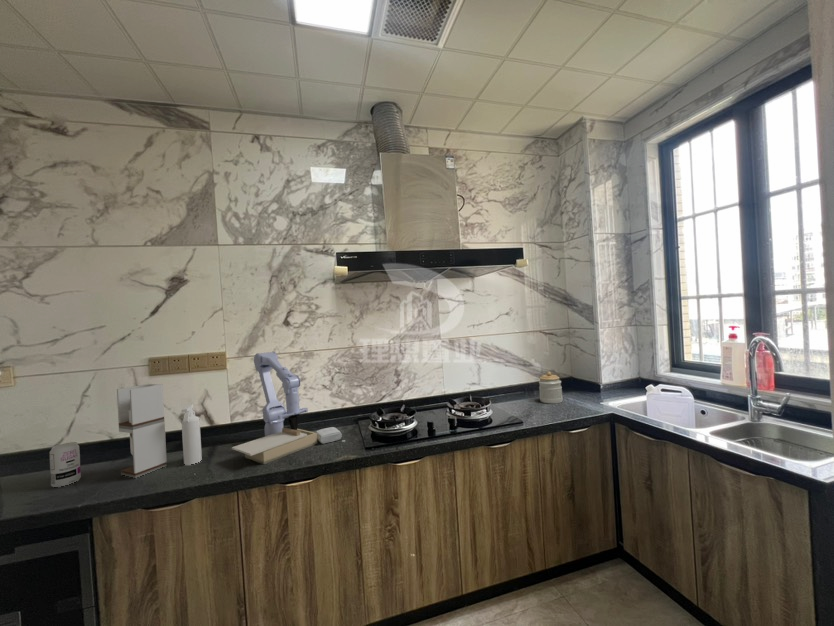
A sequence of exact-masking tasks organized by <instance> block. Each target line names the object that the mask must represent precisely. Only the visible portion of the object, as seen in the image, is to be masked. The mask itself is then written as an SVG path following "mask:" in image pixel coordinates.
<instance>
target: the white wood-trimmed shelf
mask: <svg viewBox="0 0 834 626" xmlns="http://www.w3.org/2000/svg"><path fill="white" fill-rule="evenodd" d="M116 396H117V397H116V399H117V401H116V402H117V418H118V421H117V422H118V432H121V433H125V434H127V433H128V434H129V445H130V454H131V455H132V457H133V458H132V459H133V460H132V461H133V462H132V463H133V465H131V466H130V467H127V468H124V469H121V470H120V475H121V476H122V475H125V476H124V477H126V476H129V477H128V478H130V477H133V478H132V479H134V478H136V479H138V478H137V477H139V478H141V477H140V476H142V475H144V476H146V475H145V474H147V473H150V472H152V471H155V470H157V469H160V468H162V467H165V466H167V467H168V463H167V461H168V460H167V446H166V445H167V444H166V441H167V440H166V428H165V427H166V425H165V424H166V422H165V407H164V404H165V403H164V388H163V383H146V384H141V385H134V386H133V385H132V386H128V387H123V388H122V387H121V388H117V389H116ZM165 468H166V467H165ZM160 470H161V469H160ZM157 471H158V470H157ZM155 472H156V471H155ZM152 473H153V472H152ZM150 474H151V473H150ZM147 475H148V474H147ZM142 477H143V476H142Z"/></svg>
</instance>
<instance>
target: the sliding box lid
mask: <svg viewBox="0 0 834 626" xmlns="http://www.w3.org/2000/svg"><path fill="white" fill-rule="evenodd" d="M305 436H307V434H305V433H300V431H298V430H294V429H291V428H289V427H283V428H282V431H281V432H278V433H275V434H271V435H268V436H265V435H264V436H262V437H259V438H256V439H253V440H250V441H247V442H245V443H241V444H238V445H235V446H232V447H231V450H233V451H236V452H239V453H242V454H244V455H245V454H247V455H250V456H252V455H255V454H258V453H260V452H263V451H266V450H269V449H272V448H274V447H277V446H280V445H283V444H285V443H288V442H291V441H294V440H297V439H299V438H302V437H305Z"/></svg>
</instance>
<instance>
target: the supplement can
mask: <svg viewBox="0 0 834 626" xmlns="http://www.w3.org/2000/svg"><path fill="white" fill-rule="evenodd" d="M80 453H81V452H80V445H79V444H78V442H76V441H74V442H73V441H70V442H66V443H62V444H58V445H55V446H52V447H51V450H50V451H49V470H50V486H51V487H52V488H54V487H58V488H62V487H61V486H64V487H66V486H65V485H68V486H70V485H69V484H71V483H73V484H75V483H74V482H76V481H77V482H79V480H80V479H81V477H82V476H81V475H82V474H81V454H80ZM77 482H76V483H77ZM71 485H72V484H71Z"/></svg>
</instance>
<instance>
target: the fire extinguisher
mask: <svg viewBox="0 0 834 626" xmlns="http://www.w3.org/2000/svg"><path fill="white" fill-rule="evenodd" d="M194 408H195V407H194V404H193V403H189V404H186V405H185V407H183V408H182V409H181V413H184V415H183V419H182V421H181V433H182V434H181V436H182V437H181V438H182V450H183V451H182V454H183V465H184V464H185V465H184V466H192V465H191V464H194V465H196V464H195V463H197V464H199V463H201V462H202V461H203V458H202V456H203V453H202V440H201V439H202V437H201V422H200V418H199V416H196V411H195V410H193V409H194ZM201 460H202V461H201ZM200 461H201V462H200ZM198 462H199V463H198Z"/></svg>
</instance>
